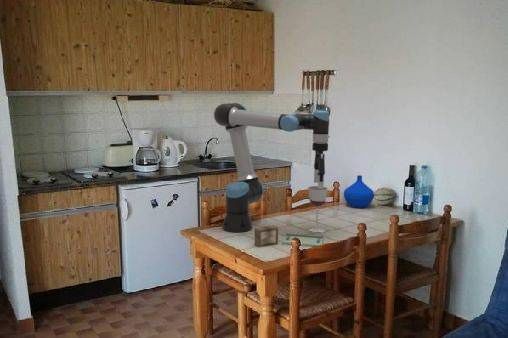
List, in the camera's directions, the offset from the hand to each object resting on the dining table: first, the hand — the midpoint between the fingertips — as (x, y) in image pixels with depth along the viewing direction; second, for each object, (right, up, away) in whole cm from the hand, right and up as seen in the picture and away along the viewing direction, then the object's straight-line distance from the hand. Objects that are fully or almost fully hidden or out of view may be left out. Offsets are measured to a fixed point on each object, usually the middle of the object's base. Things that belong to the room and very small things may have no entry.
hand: (318, 185), depth 227 cm
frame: (-26, -27, -15) cm, 40 cm away
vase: (+33, -15, +58) cm, 68 cm away
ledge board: (-9, -26, -11) cm, 30 cm away
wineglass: (0, -23, +7) cm, 24 cm away
